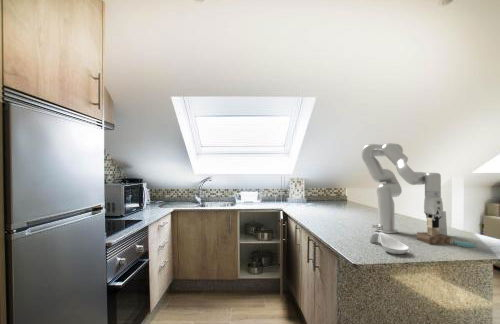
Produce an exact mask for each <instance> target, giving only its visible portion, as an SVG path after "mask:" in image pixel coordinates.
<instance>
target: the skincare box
mask: <svg viewBox="0 0 500 324" xmlns="http://www.w3.org/2000/svg"><path fill="white" fill-rule="evenodd" d="M436 215H437V214H436ZM435 217H436V216H435ZM432 218H433V217H432ZM447 225H448V224H447V211H446V210H443V215H442V217H441V218H440V220H439V233H440V234H443V235H446V236H448V228H447V227H448V226H447Z"/></svg>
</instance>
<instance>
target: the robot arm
mask: <svg viewBox="0 0 500 324" xmlns="http://www.w3.org/2000/svg"><path fill="white" fill-rule="evenodd" d="M403 152H404V149H403V146H402V145H401V144H399V143H393V142H392V143H389V142H388V143H385V144H381V143H380V144H379V143H377V144H376V143H369V144H366V145H365V146H364V147H363V148H362V151H361V158H362V161H363V162H364V164H365V166H366V168H367V171H368V172H369V174H370V176H371V179H372V180H373V181H374V183H378V184H379V185H377V187H376V195H377V203H378V204H377V205H378V206H377V207H378V208H377V209H378V210H377V211H378V212H377V213H378V214H377V215H378V221H377V223H376V224H371V225H370V226H371V229H374V228H375V230H376V232H378V233H380V232H382V233H385V234H397V233H398V229H396V227H395V226H396V225H395V223H396V222H395V221H396V220H395V216H396V215H395V202H394V201H395V200H394V199H393V198H397V197H399V196H401V194H402V192H403V191H402V186H401V184H400V182H399V180H398V179H397V177H396V175H395V173H394V172H393V171H392V170H391V169H388V168H383V167H382V165H381V163H380V161H379V160H378V159H377V158H376V157H385V158H387V160H389V161H390V162H391V163H392V164H393V165H394V166H395V169H396V171H397V174H398V175H399V176H400V177H401V178H402V179H403V181H405V182H406V183H408V184H409V185H412V186H416V185H418V186H419V185H420V186H421V185H422V186H423V185H424V202H423V213H424V214H425V216H426V217H425V218H426V219H427V218H432V217H433V220H432V227H433V228H439V220H440V218H441V217H442V215H443V211H444V203H443V198H442V195H441V194H442V192H441V191H442V177H441V173H439V172H423V171H414V170H413V169H412V168H411V167H410V166H409V165H408V164H407V162H408V160H409V158H408V157H407V155H406V154H404V153H403ZM436 214H437V215H436ZM435 216H436V217H435Z"/></svg>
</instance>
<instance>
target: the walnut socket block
mask: <svg viewBox="0 0 500 324" xmlns="http://www.w3.org/2000/svg"><path fill="white" fill-rule="evenodd" d="M451 238H452V237H451V236H449V235H447V236H446V235H443V234H440V233H439V236H432V235H429V234H427V232H426V231H425V232H424V231H423V232H421V231H420V232H417V233H416V240H418V241H421V242H422V243H425V244H427V245H451V243H452V241H451Z"/></svg>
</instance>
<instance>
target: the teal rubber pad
mask: <svg viewBox="0 0 500 324" xmlns="http://www.w3.org/2000/svg"><path fill="white" fill-rule="evenodd" d="M453 245H455V246H457V245H458V247H461V246H462V247H461V248H468V247H469V249H471V248H472V249H473V247H474V248H476V244H475V243H472V242H469V241H461V240H455V241H453Z"/></svg>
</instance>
